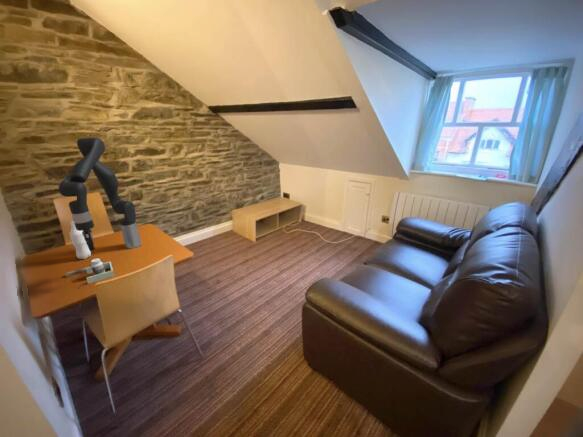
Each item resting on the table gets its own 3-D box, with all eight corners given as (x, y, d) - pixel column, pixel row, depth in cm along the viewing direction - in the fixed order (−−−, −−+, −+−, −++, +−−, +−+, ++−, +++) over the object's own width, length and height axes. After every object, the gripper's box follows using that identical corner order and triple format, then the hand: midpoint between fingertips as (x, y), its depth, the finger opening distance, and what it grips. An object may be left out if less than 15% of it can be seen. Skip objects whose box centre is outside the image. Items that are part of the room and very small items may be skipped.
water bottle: (83, 260, 151) (71, 224, 142) (74, 259, 153) (62, 223, 144) (94, 255, 158) (83, 220, 149) (85, 254, 159) (74, 218, 150)
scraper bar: (94, 266, 146) (93, 262, 145) (95, 271, 141) (93, 266, 140) (66, 274, 138) (64, 269, 137) (66, 279, 134) (64, 274, 133)
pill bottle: (93, 274, 138) (88, 260, 134) (104, 271, 142) (100, 256, 138) (95, 278, 135) (90, 263, 131) (107, 274, 138) (102, 259, 135)
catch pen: (112, 266, 146) (110, 261, 145) (114, 275, 137) (113, 270, 136) (87, 273, 139) (85, 268, 138) (88, 283, 130) (86, 278, 129)
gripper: (92, 222, 123) (101, 250, 129) (91, 214, 133) (99, 240, 139) (73, 226, 118) (83, 254, 124) (73, 217, 128) (82, 244, 134)
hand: (91, 247), depth 132 cm, fingers open, 8 cm apart
